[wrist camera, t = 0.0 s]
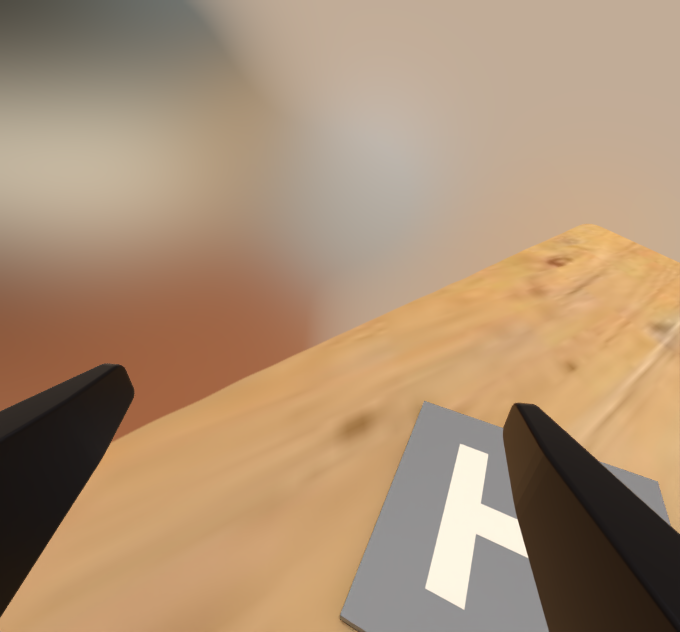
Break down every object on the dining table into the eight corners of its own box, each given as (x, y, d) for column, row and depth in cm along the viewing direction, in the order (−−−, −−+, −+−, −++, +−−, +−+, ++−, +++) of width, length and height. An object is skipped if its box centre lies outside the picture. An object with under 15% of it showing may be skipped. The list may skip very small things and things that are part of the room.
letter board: (768, 897, 11) (782, 898, 11) (340, 619, 17) (340, 614, 17) (653, 486, 23) (657, 481, 23) (423, 405, 29) (424, 400, 29)
